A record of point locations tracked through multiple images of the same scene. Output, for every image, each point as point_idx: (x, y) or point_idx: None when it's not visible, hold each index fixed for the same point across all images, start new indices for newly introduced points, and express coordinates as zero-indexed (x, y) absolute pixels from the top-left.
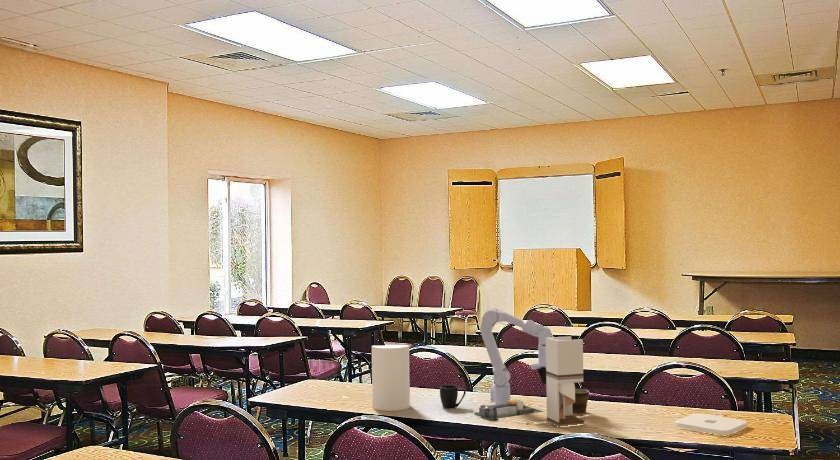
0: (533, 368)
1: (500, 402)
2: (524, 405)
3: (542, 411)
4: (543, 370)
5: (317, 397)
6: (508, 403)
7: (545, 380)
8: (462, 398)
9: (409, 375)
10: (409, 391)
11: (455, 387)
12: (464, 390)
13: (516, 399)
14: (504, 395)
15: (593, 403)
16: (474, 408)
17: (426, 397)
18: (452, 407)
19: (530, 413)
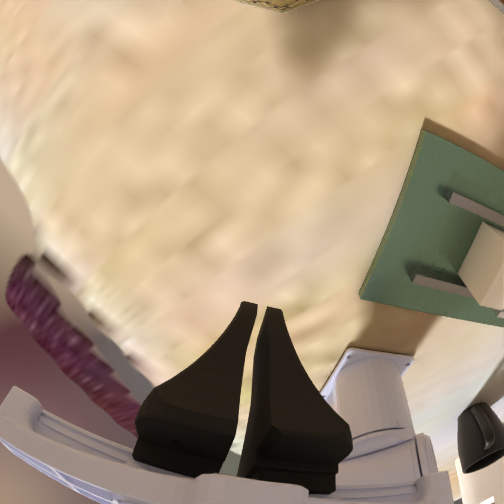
0: (448, 480)
1: (400, 375)
2: (416, 274)
3: (429, 138)
4: (352, 440)
5: (454, 491)
6: (374, 360)
7: (282, 332)
8: (485, 417)
9: (495, 496)
10: (491, 466)
11: (470, 460)
12: (494, 436)
13: (482, 302)
14: (400, 392)
15: (26, 116)
16: (465, 381)
17: None
18: (483, 404)
19: (497, 167)
